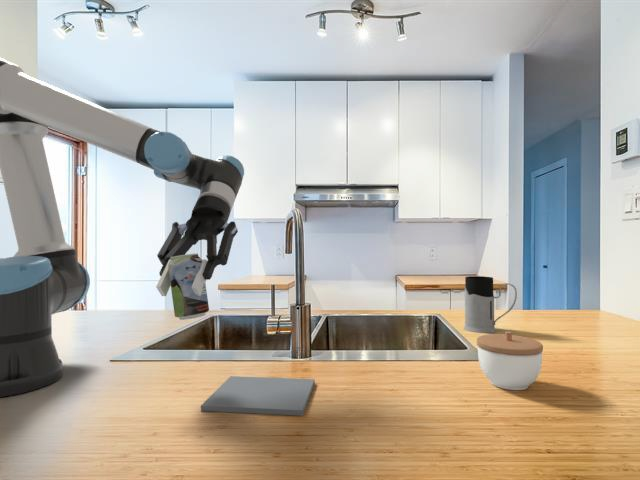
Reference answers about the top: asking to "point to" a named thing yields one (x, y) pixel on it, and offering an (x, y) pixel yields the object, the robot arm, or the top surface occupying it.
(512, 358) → the lidded jar
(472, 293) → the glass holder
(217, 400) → the rubber mat
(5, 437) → the top surface
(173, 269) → the beverage can
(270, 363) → the top surface
